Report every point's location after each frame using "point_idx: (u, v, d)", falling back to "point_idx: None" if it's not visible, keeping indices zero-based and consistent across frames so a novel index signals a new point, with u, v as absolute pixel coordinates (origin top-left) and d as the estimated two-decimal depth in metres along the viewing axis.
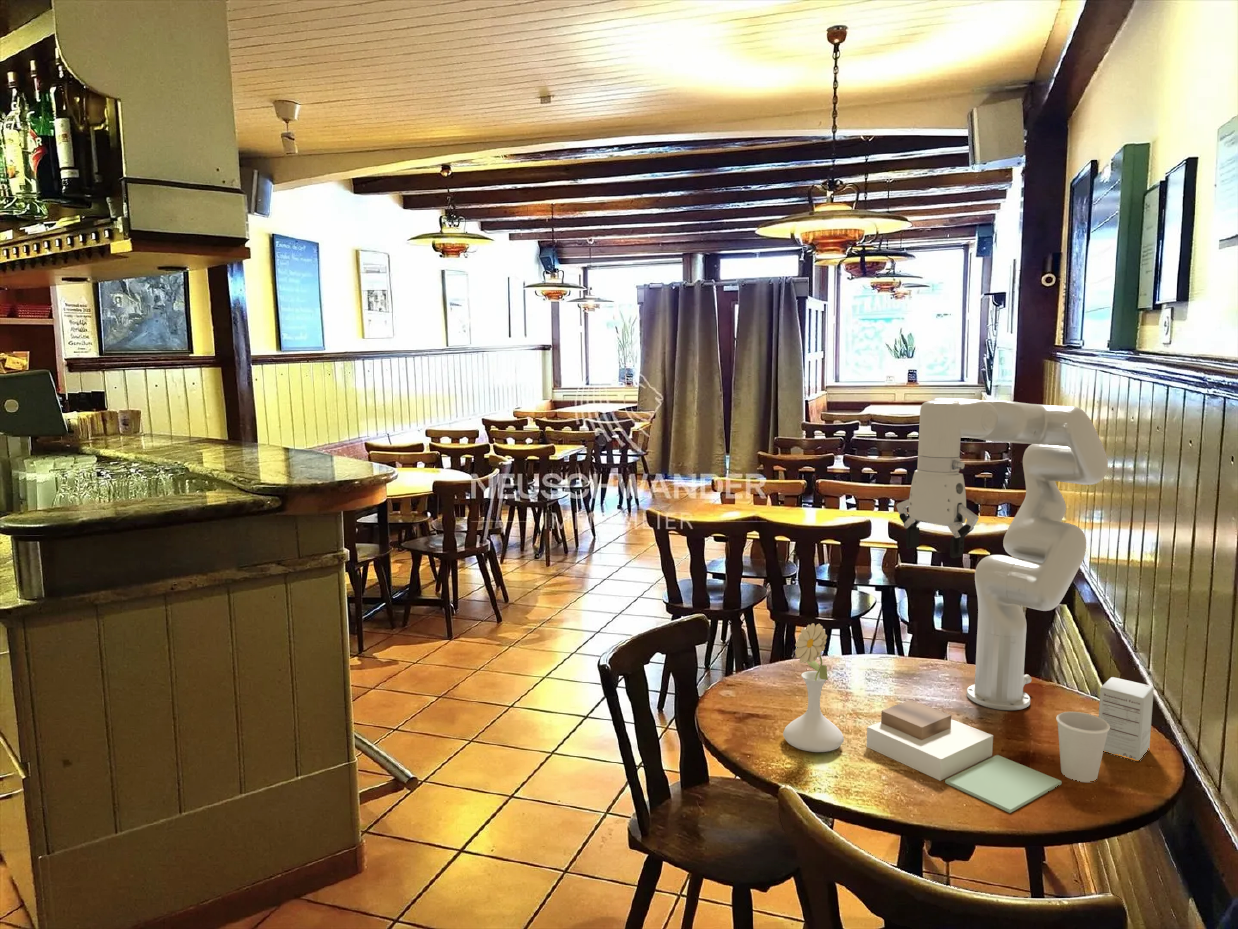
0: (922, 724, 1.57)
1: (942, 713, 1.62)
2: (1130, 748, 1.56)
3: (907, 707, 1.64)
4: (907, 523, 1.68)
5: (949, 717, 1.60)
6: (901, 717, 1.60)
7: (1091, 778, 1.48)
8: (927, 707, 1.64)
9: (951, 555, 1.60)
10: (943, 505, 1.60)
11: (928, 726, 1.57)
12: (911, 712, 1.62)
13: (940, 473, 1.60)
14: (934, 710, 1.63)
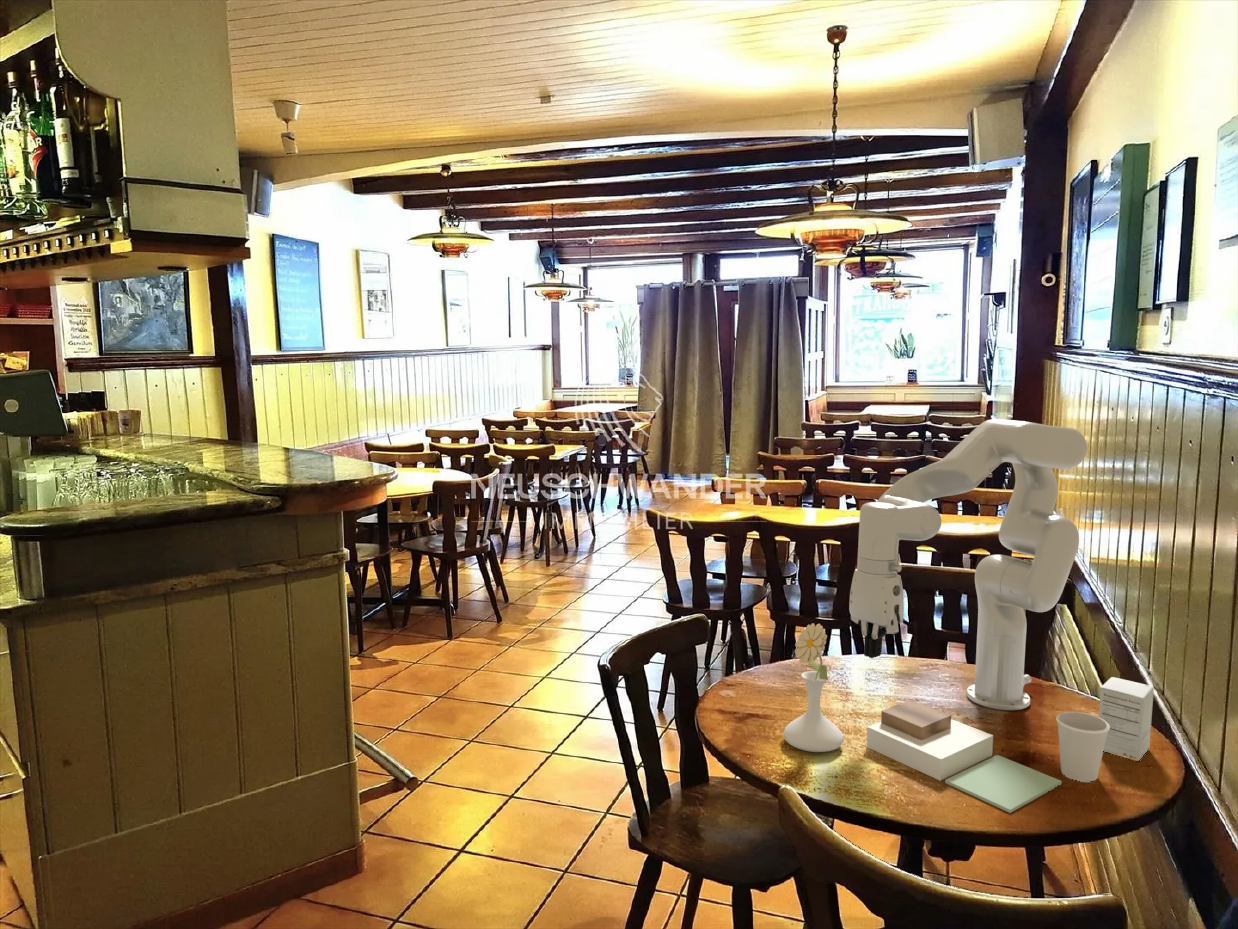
0: (922, 724, 1.57)
1: (942, 713, 1.62)
2: (1130, 748, 1.56)
3: (907, 707, 1.64)
4: (863, 630, 1.68)
5: (949, 717, 1.60)
6: (901, 717, 1.60)
7: (1091, 778, 1.48)
8: (927, 707, 1.64)
9: (869, 655, 1.67)
10: (880, 606, 1.63)
11: (928, 726, 1.57)
12: (911, 712, 1.62)
13: (877, 575, 1.63)
14: (934, 710, 1.63)
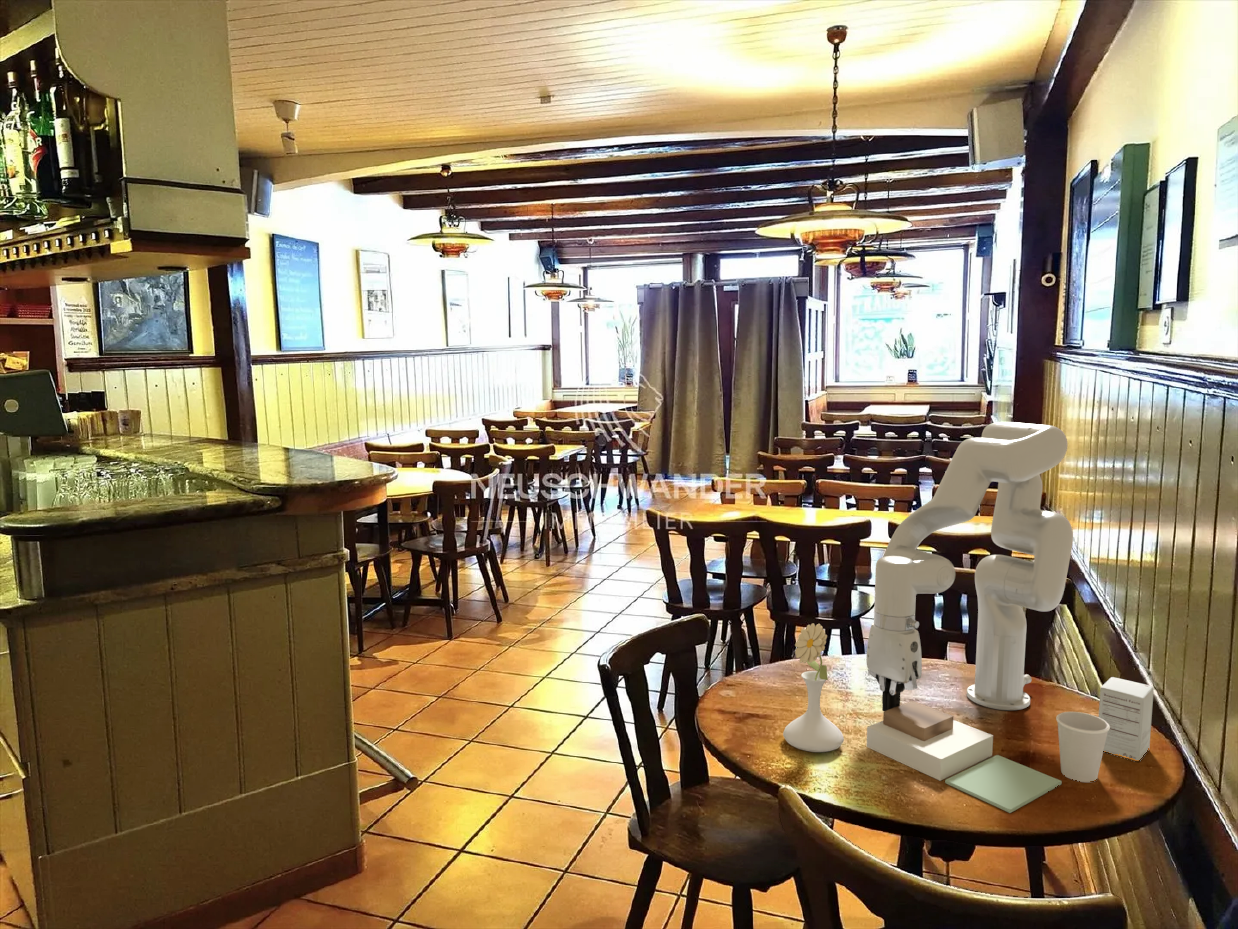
0: (924, 725, 1.56)
1: (944, 714, 1.61)
2: (1130, 748, 1.56)
3: (909, 708, 1.64)
4: (881, 685, 1.66)
5: (951, 718, 1.60)
6: (903, 718, 1.59)
7: (1091, 778, 1.48)
8: (929, 708, 1.64)
9: None
10: (898, 663, 1.61)
11: (930, 727, 1.56)
12: (913, 713, 1.62)
13: (895, 632, 1.61)
14: (936, 711, 1.63)
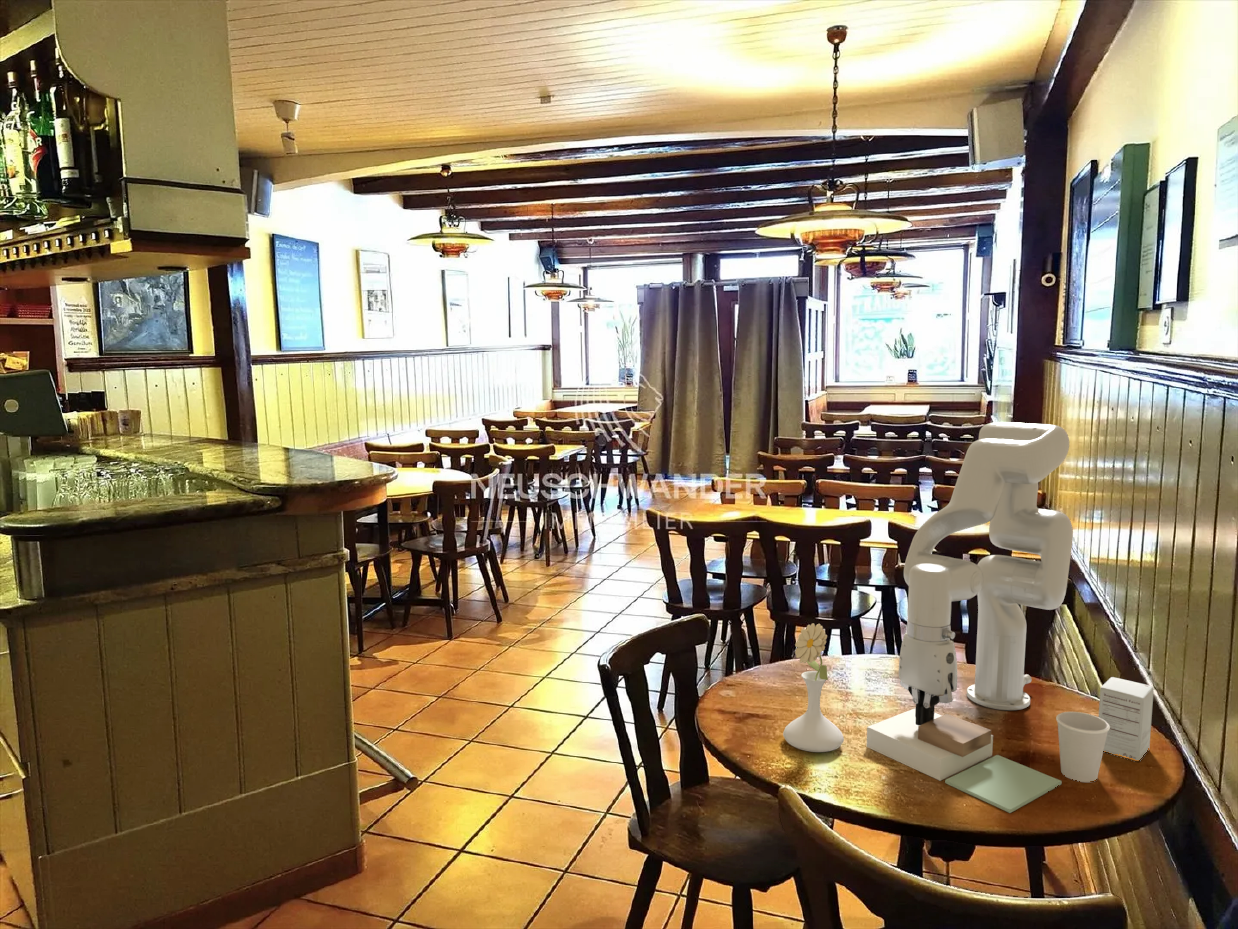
0: (962, 740, 1.50)
1: (981, 728, 1.55)
2: (1130, 748, 1.56)
3: (944, 722, 1.58)
4: (914, 698, 1.60)
5: (989, 732, 1.54)
6: (940, 733, 1.53)
7: (1091, 778, 1.48)
8: (965, 722, 1.58)
9: (921, 724, 1.59)
10: (933, 675, 1.55)
11: (969, 742, 1.50)
12: (949, 727, 1.56)
13: (930, 643, 1.55)
14: (973, 725, 1.56)
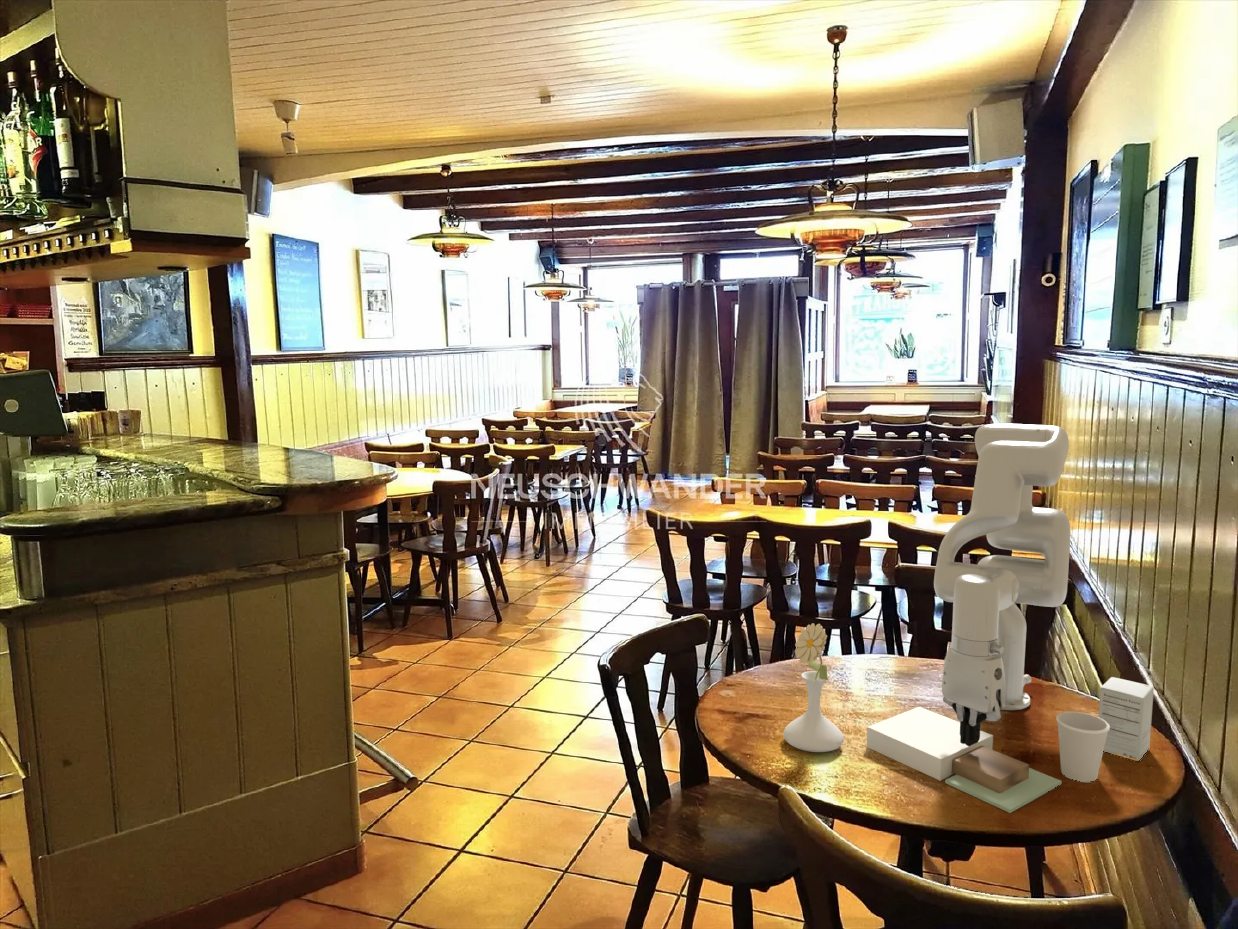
0: (1000, 776, 1.45)
1: (1019, 762, 1.49)
2: (1130, 748, 1.56)
3: (979, 755, 1.52)
4: (959, 715, 1.53)
5: (1027, 767, 1.48)
6: (976, 767, 1.47)
7: (1091, 778, 1.48)
8: (1001, 755, 1.52)
9: (966, 743, 1.51)
10: (980, 692, 1.48)
11: (1006, 778, 1.44)
12: (985, 761, 1.50)
13: (977, 658, 1.47)
14: (1009, 758, 1.51)
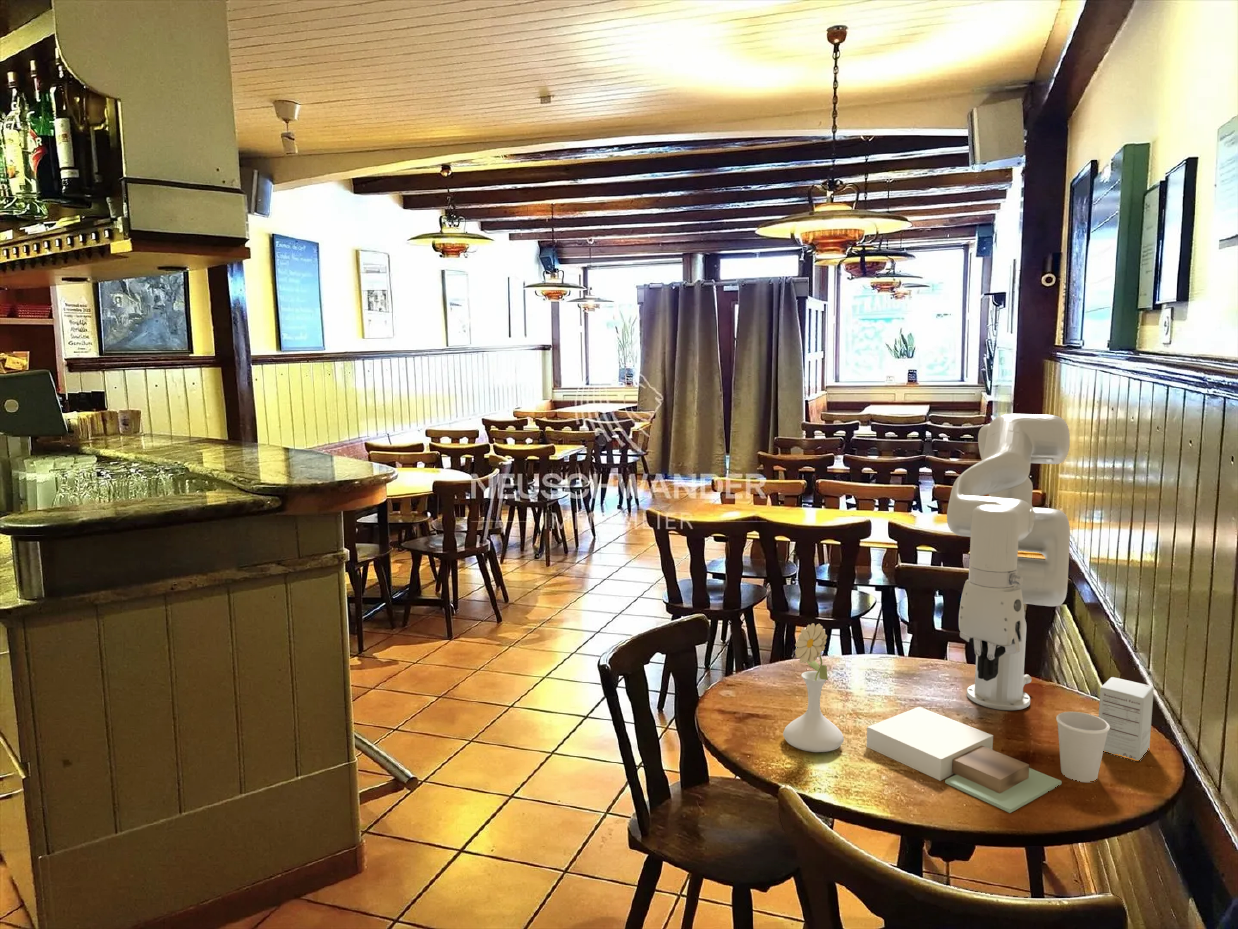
0: (1000, 776, 1.45)
1: (1019, 762, 1.49)
2: (1130, 748, 1.56)
3: (979, 755, 1.52)
4: (977, 649, 1.49)
5: (1027, 767, 1.48)
6: (976, 767, 1.47)
7: (1091, 778, 1.48)
8: (1001, 755, 1.52)
9: (984, 678, 1.48)
10: (999, 624, 1.44)
11: (1006, 778, 1.44)
12: (985, 761, 1.50)
13: (996, 589, 1.43)
14: (1009, 758, 1.51)
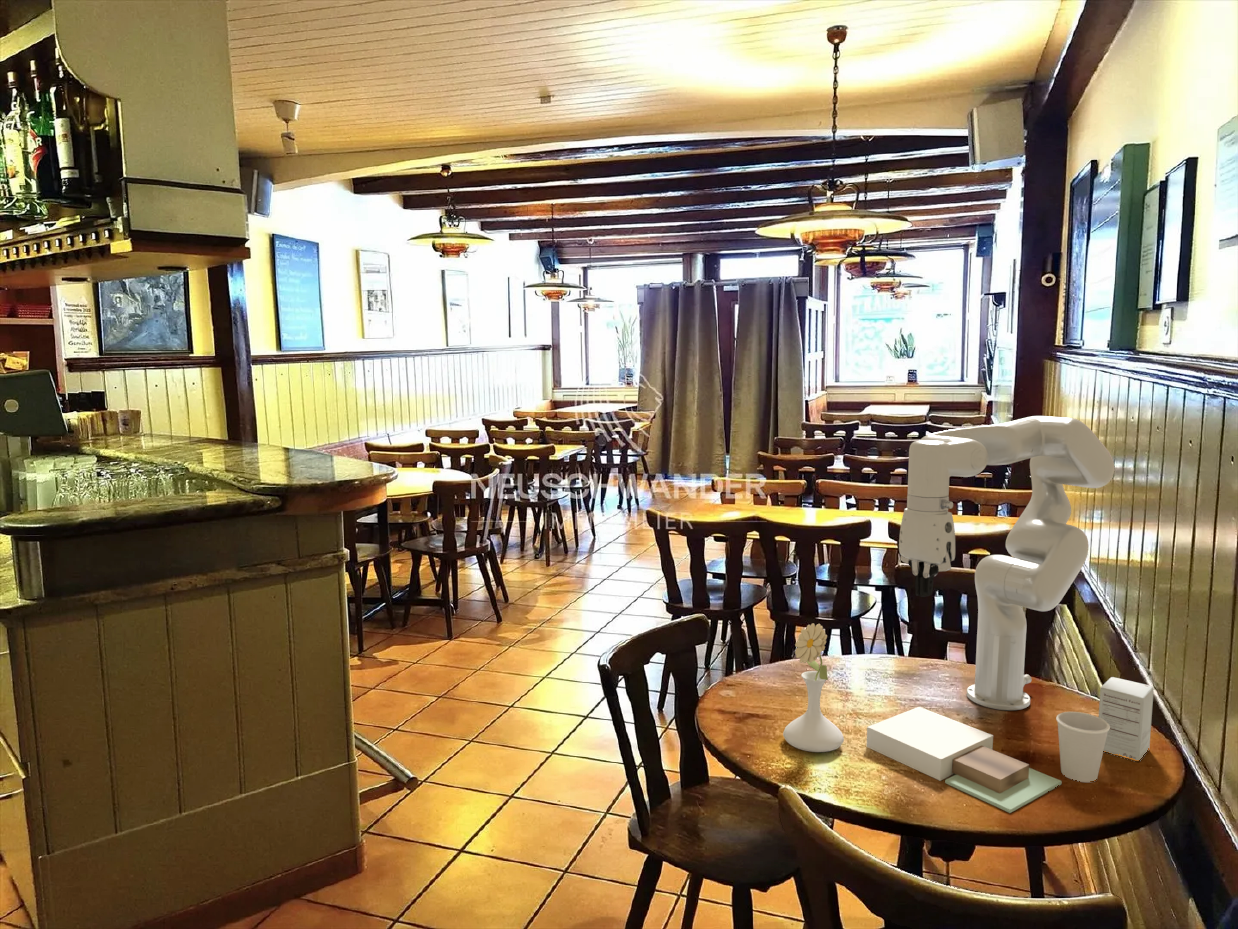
0: (1000, 776, 1.45)
1: (1019, 762, 1.49)
2: (1130, 748, 1.56)
3: (979, 755, 1.52)
4: (914, 570, 1.67)
5: (1027, 767, 1.48)
6: (976, 767, 1.47)
7: (1091, 778, 1.48)
8: (1001, 755, 1.52)
9: (921, 594, 1.66)
10: (932, 544, 1.62)
11: (1006, 778, 1.44)
12: (985, 761, 1.50)
13: (929, 513, 1.62)
14: (1009, 758, 1.51)
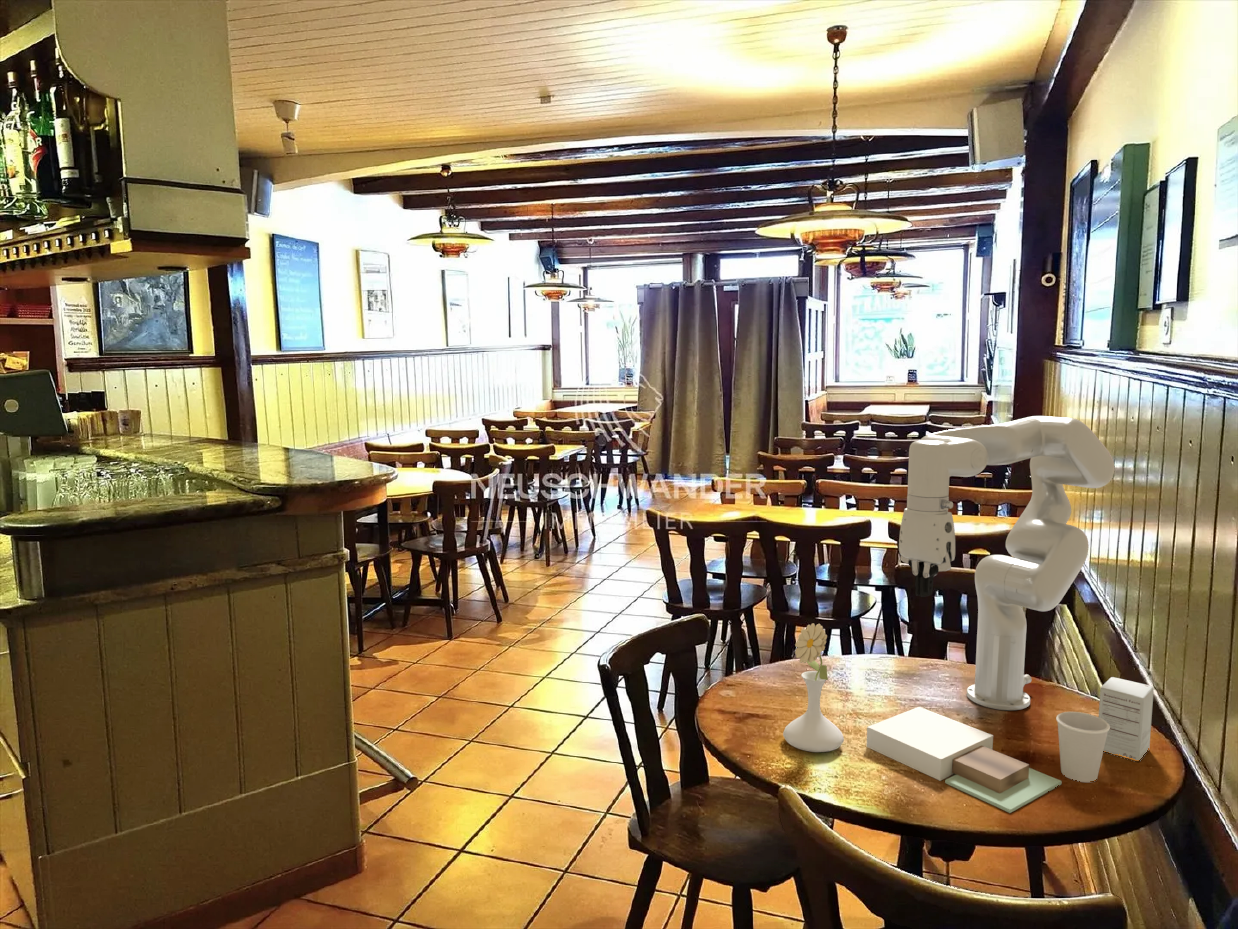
0: (1000, 776, 1.45)
1: (1019, 762, 1.49)
2: (1130, 748, 1.56)
3: (979, 755, 1.52)
4: (914, 570, 1.67)
5: (1027, 767, 1.48)
6: (976, 767, 1.47)
7: (1091, 778, 1.48)
8: (1001, 755, 1.52)
9: (921, 594, 1.66)
10: (932, 544, 1.62)
11: (1006, 778, 1.44)
12: (985, 761, 1.50)
13: (929, 513, 1.62)
14: (1009, 758, 1.51)
